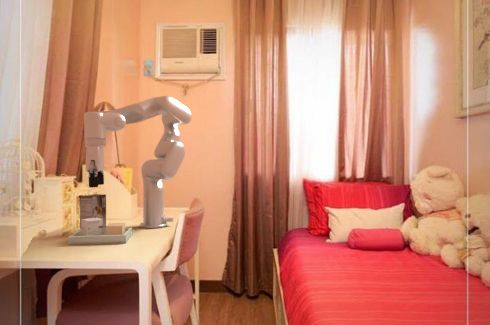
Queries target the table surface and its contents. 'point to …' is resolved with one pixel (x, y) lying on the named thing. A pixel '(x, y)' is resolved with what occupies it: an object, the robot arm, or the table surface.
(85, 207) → the coffee box
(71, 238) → the grey-green tray
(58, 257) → the table surface
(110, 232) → the parcel
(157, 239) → the table surface
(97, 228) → the skincare box
